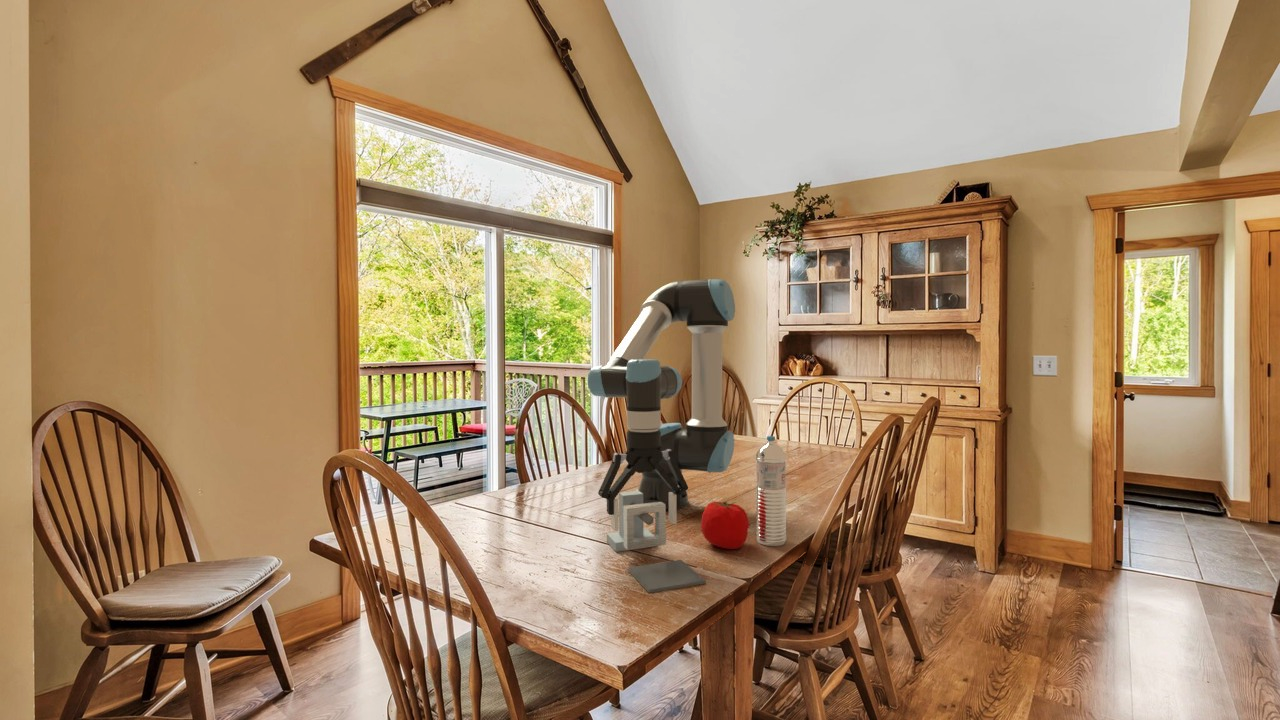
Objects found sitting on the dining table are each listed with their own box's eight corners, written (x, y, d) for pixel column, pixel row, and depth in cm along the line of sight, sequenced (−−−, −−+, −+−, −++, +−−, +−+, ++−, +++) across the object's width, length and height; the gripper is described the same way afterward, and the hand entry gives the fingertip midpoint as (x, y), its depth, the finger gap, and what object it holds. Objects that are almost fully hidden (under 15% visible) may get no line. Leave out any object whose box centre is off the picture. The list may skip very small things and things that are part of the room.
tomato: (724, 558, 131) (724, 512, 131) (689, 542, 142) (689, 499, 141) (762, 548, 137) (762, 504, 137) (726, 533, 148) (726, 492, 147)
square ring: (661, 541, 135) (661, 501, 135) (665, 544, 133) (665, 504, 133) (623, 546, 132) (623, 505, 132) (627, 550, 130) (626, 508, 129)
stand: (606, 541, 143) (606, 491, 142) (646, 536, 146) (645, 487, 146) (627, 564, 128) (627, 508, 128) (671, 558, 131) (670, 504, 131)
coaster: (680, 562, 129) (680, 559, 129) (705, 583, 118) (705, 580, 118) (628, 570, 125) (628, 567, 125) (648, 592, 114) (648, 589, 114)
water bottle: (767, 535, 146) (766, 433, 145) (791, 542, 141) (791, 436, 140) (750, 542, 141) (750, 436, 140) (775, 549, 136) (775, 440, 136)
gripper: (688, 424, 139) (688, 515, 140) (584, 430, 131) (584, 526, 131) (702, 428, 132) (702, 524, 133) (593, 434, 124) (593, 537, 124)
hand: (644, 525), depth 132 cm, fingers open, 13 cm apart
